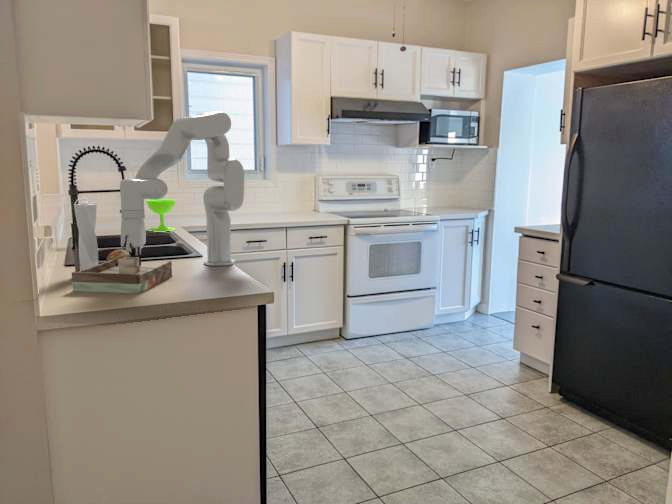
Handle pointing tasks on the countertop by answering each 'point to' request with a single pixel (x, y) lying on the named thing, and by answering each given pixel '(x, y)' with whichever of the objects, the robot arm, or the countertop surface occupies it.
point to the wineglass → (161, 211)
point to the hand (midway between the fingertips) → (135, 266)
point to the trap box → (119, 278)
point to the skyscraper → (86, 235)
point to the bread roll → (117, 255)
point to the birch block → (129, 265)
